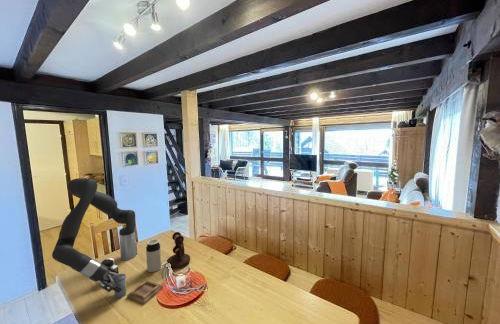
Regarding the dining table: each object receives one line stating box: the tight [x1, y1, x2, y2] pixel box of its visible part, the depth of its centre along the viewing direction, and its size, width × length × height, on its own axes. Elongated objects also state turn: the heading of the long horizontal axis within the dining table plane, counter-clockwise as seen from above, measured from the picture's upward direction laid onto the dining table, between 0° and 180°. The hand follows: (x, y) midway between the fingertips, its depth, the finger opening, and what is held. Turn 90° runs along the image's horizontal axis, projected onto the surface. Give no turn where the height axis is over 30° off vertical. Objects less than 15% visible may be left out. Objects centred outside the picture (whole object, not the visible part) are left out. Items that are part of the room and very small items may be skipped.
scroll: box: [166, 231, 191, 269], centre depth 138 cm, size 15×15×20 cm
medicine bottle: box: [97, 257, 119, 284], centre depth 121 cm, size 7×7×12 cm
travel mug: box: [145, 238, 162, 273], centre depth 131 cm, size 8×8×18 cm
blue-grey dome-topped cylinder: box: [113, 273, 127, 299], centre depth 109 cm, size 6×6×10 cm
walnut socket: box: [126, 279, 164, 305], centre depth 111 cm, size 12×12×3 cm
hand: (122, 285), depth 109 cm, fingers open, 8 cm apart
